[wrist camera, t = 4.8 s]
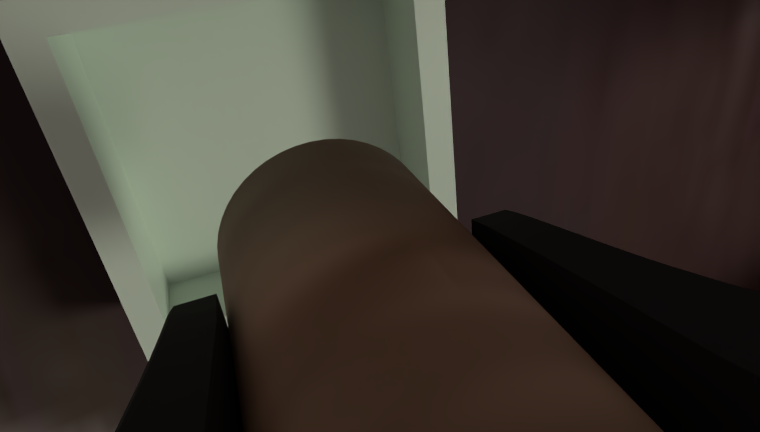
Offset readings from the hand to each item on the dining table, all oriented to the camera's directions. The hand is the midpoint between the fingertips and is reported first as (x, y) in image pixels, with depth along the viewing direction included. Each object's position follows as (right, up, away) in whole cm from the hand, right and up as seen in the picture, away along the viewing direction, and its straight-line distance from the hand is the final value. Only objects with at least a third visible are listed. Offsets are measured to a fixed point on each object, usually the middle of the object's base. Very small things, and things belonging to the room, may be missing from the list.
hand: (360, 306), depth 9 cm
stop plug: (-1, +1, +2) cm, 2 cm away
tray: (-3, +4, +8) cm, 9 cm away
